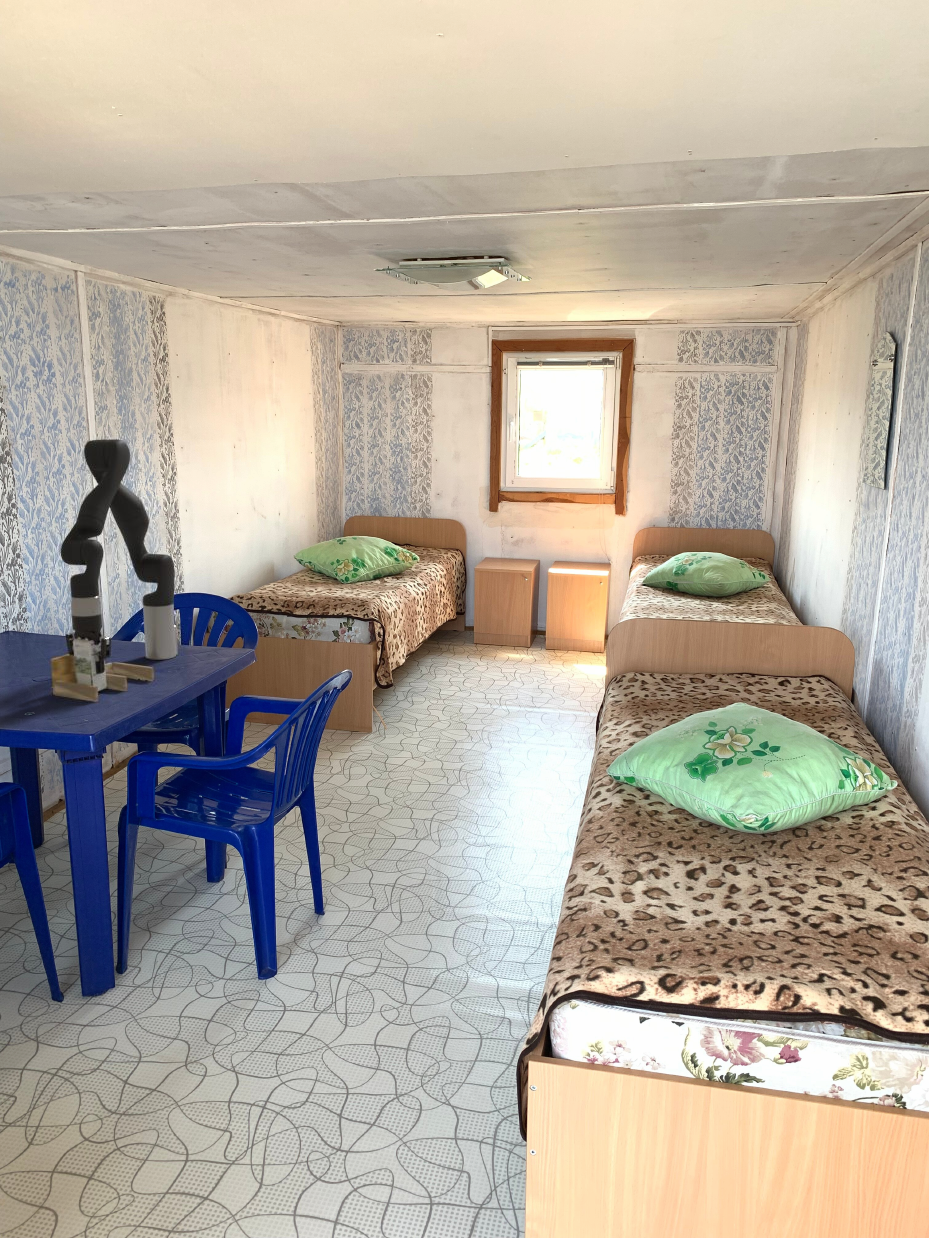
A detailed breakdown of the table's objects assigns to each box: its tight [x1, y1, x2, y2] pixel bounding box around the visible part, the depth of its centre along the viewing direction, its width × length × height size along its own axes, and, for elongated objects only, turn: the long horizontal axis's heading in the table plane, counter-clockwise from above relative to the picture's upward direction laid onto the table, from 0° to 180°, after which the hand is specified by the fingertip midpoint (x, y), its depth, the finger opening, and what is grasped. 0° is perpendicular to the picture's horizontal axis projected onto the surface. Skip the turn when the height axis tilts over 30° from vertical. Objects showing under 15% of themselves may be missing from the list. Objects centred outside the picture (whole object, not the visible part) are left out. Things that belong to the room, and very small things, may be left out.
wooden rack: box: [50, 653, 155, 703], centre depth 249 cm, size 23×15×10 cm, turn 159°
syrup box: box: [72, 639, 107, 692], centre depth 244 cm, size 6×6×14 cm
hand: (90, 671), depth 244 cm, fingers open, 6 cm apart
